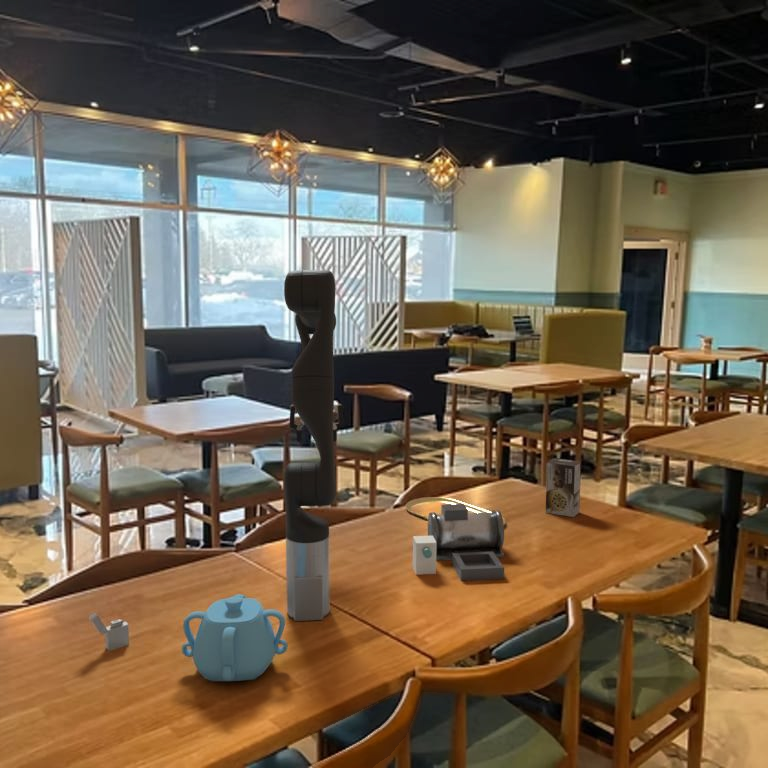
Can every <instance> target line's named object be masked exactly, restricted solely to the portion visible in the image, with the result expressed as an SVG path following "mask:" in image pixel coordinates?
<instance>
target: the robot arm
mask: <svg viewBox="0 0 768 768" xmlns="http://www.w3.org/2000/svg"><path fill="white" fill-rule="evenodd" d="M283 285H284V286H283V287H284V288H283V292H284V293H283V294H284V301H285V305H286V307H287V309H288V310H289V311H290V312H293V313H294V314H295V318H294V322H295V326H296V329H297V333H298V335H299V339H300V343H301V353H300V354H299V356H298V357H297V359H296V360H295V362H294V365H293V367H292V370H291V376H290V377H291V382H290V383H291V384H290V386H291V390H290V391H291V393H290V395H291V402H292V404H291V405H290V410H289V428H290V429H294V430H295V431H296V434H295V435H296V442H297V443H298V444H299V445H303V430H302V428H303V427H304V425H305V427H306V429H307V430H308V432H309V433H310V435H311V437H312V439H313V441H314V443H315V445H316V448H317V450H318V453H319V459H320V461H317V462H311V461H310V462H307V461H306V462H290V463H288V464H286V467H285V469H284V473H283V492H284V503H285V548H286V550H285V552H286V553H285V555H286V556H285V557H286V560H285V561H286V565H285V567H286V606H287V608H286V610H287V615H288V616H289V617H290V618H292V619H293V621H294V622H301V621H302V622H303V621H322V620H324V617H326V616H327V615H328V614H329V613H330V611H331V610H330V608H331V607H330V604H331V603H330V598H331V597H330V526H329V523H328V521H327V520H325V519H324V518H322V517H319V516H316V515H315V514H311V513H310V512H308V511H306V510H305V509H304V508H303V507H326V506H331V505H332V504H333V503H334V501H335V498H336V492H337V490H336V489H337V488H336V483H337V482H336V464H335V463H336V461H335V442H337V440H338V437H337V435H338V434H337V433H338V432H337V431H338V429H339V428H343V427H344V410H343V408H344V407H343V405H342V404H341V403H338V404H335V367H334V366H335V364H334V363H335V362H334V330H335V329H336V327H337V317H336V313H335V310H336V309H335V308H336V307H335V306H336V280H335V275H334V274H333V272H332V271H330V270H328V269H327V270H325V269H297V270H292V271H291V270H290V271H289V272H288V273H287V274H286V276H285V278H284V283H283ZM310 335H311V337H310ZM334 412H335V413H336V414H337V419H338V420H337V421H338V422H334ZM297 414H298V416H299V418H300V420H299V421H298V423H295V418H296V415H297Z"/></svg>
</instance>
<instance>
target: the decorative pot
mask: <svg viewBox="0 0 768 768" xmlns="http://www.w3.org/2000/svg"><path fill="white" fill-rule="evenodd" d="M269 617H275V618H277V619H278V622H279V624H278V625H279V626H278V629H277V631H276V634H275V632H274V627H273V625H272V622H271V620H270V619H269ZM194 619H200V620H201V621H200V624H199V626H198V629H197V631H196V635H195V637H194V635H193V632H192V629H191V627H190V621H192V620H194ZM182 627H183V632H184V635H185V637H186V640H187V641H186V642H184V644H183V645H182V646H181V652H182V654H183V655H184V656H185V657H187V658H192V659H193V663H194V666H195V668H196V670H197V671H198V672H199V674H200V675H201V676H202V677H204V678H205V679H206V680H209V681H211V682H240V681H254V680H256V679H258V678H259V676H261V675H263V673H265V671H266V670H267V668H268V667H270V665H271V663H272V661H273V659H274V657H275V655H283V654H284V653H286V652H287V650H288V648H289V646H288V642H287V640H285V639H282V635H283V633H284V630H285V627H286V619H285V616H284V615H283V613H282V612H280V611H279V610H276V609H265V608H264V606H263V605H262V603H261V602H260V601H259V600H257V599H256V598H251V597H246V595H244V594H240V593H238V594H235V595H234V596H231V597H227V598H223V599H222V598H221V599H218V600H216V601H214V602H212V604H211V605H209V607H208V608H207V610H206V611H205V612H204V611H200V610H199V611H197V610H196V611H193V612H191V613H189V614H188V615H187V616H186V617H185V619H184V620H183V624H182ZM279 645H282V646H281V647H279ZM188 647H189V648H190V649H188Z"/></svg>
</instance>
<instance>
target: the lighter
mask: <svg viewBox="0 0 768 768" xmlns="http://www.w3.org/2000/svg"><path fill="white" fill-rule="evenodd" d="M88 618H89V620H90V621H91V623H92V624H93V626H94V627H95V629H96V630H97V632H98V633H99V634H100V635H101V636H102V635H103V634H104V637H105V638H104V639H105V640H104V641H105V649H106V650H107V651H108V652H110V651H114V650H116V649H120V648H123V647H126V646H129V645H130V632H129V631H130V630H129V623H128V622H127V621H124V620H123V619H119V618H118V619H115V620H112V621H110V625H107V626H106V625H105V624H104V623H103V621H102V620H101V619H100V616H99V615H98V614H97V613H96V612H93V613H91V615H89V616H88Z"/></svg>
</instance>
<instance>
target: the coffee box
mask: <svg viewBox="0 0 768 768" xmlns="http://www.w3.org/2000/svg"><path fill="white" fill-rule="evenodd" d="M581 472H582V461H579V460H572V459H566V458H565V459H564V458H563V459H562V458H555V457H554V458H551V459H550V460H549V461H547V462H546V475H545V476H546V477H545V478H546V481H545V483H546V485H545V486H546V488H545V513H547V514H553V515H559V516H563V517H564V516H565V517H569V518H570V517H571V518H574V517H576V515H578V514H579V513H580V501H581V500H580V499H581Z"/></svg>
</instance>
